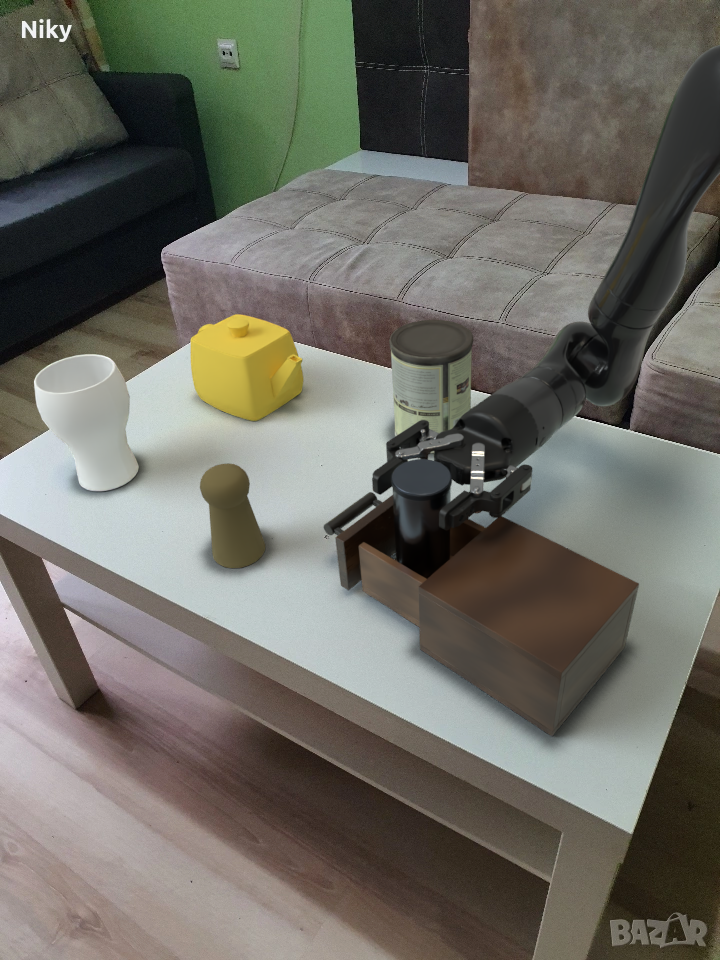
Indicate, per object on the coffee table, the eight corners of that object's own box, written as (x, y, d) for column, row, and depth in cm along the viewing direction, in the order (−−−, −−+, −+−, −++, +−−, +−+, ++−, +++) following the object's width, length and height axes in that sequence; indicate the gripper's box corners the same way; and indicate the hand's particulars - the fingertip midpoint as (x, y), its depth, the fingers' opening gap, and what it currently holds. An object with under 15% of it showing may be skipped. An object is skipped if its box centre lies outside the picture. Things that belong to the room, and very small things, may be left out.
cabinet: (419, 649, 72) (417, 586, 67) (496, 577, 79) (500, 515, 74) (552, 737, 64) (561, 672, 59) (624, 648, 71) (639, 583, 66)
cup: (122, 441, 105) (91, 343, 96) (165, 470, 99) (137, 369, 89) (52, 477, 99) (12, 377, 90) (93, 510, 93) (55, 406, 84)
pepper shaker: (201, 552, 85) (181, 475, 79) (242, 524, 89) (226, 448, 82) (235, 576, 82) (217, 497, 75) (276, 546, 85) (262, 469, 79)
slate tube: (457, 565, 78) (459, 464, 70) (440, 602, 74) (440, 500, 66) (407, 552, 80) (403, 453, 72) (387, 588, 76) (381, 487, 68)
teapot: (333, 396, 110) (325, 322, 103) (274, 436, 103) (262, 360, 96) (238, 361, 121) (225, 292, 114) (179, 395, 114) (161, 323, 106)
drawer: (312, 567, 81) (305, 519, 77) (383, 514, 87) (380, 467, 83) (442, 651, 71) (442, 601, 67) (512, 584, 77) (516, 535, 73)
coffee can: (403, 408, 107) (399, 316, 98) (476, 415, 104) (479, 321, 96) (385, 450, 99) (380, 354, 90) (463, 458, 96) (465, 360, 88)
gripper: (455, 373, 80) (349, 442, 71) (574, 418, 72) (471, 503, 63) (454, 431, 85) (354, 503, 76) (566, 480, 77) (469, 567, 68)
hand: (407, 503), depth 70 cm, fingers open, 7 cm apart
